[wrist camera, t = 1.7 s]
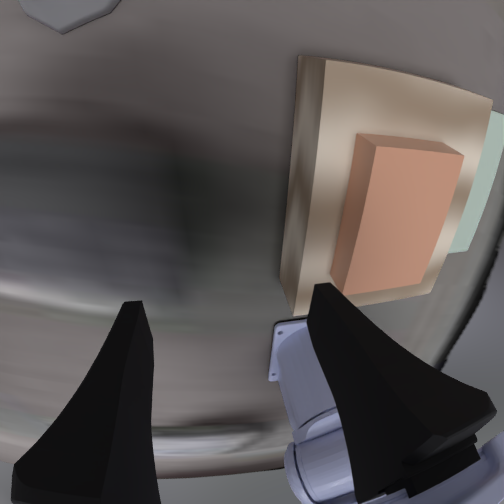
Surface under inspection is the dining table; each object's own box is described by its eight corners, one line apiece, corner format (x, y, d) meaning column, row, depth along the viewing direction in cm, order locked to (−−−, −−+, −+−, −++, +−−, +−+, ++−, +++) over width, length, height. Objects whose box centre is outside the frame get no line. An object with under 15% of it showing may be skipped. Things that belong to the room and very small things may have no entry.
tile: (406, 264, 21) (420, 283, 19) (329, 274, 20) (341, 296, 18) (442, 142, 16) (464, 155, 14) (356, 133, 15) (376, 146, 13)
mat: (464, 247, 27) (467, 250, 27) (410, 254, 26) (413, 257, 26) (506, 115, 19) (510, 117, 19) (452, 97, 18) (456, 99, 18)
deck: (407, 263, 27) (429, 293, 24) (279, 278, 25) (293, 316, 22) (454, 85, 17) (493, 100, 14) (298, 55, 15) (325, 59, 12)
